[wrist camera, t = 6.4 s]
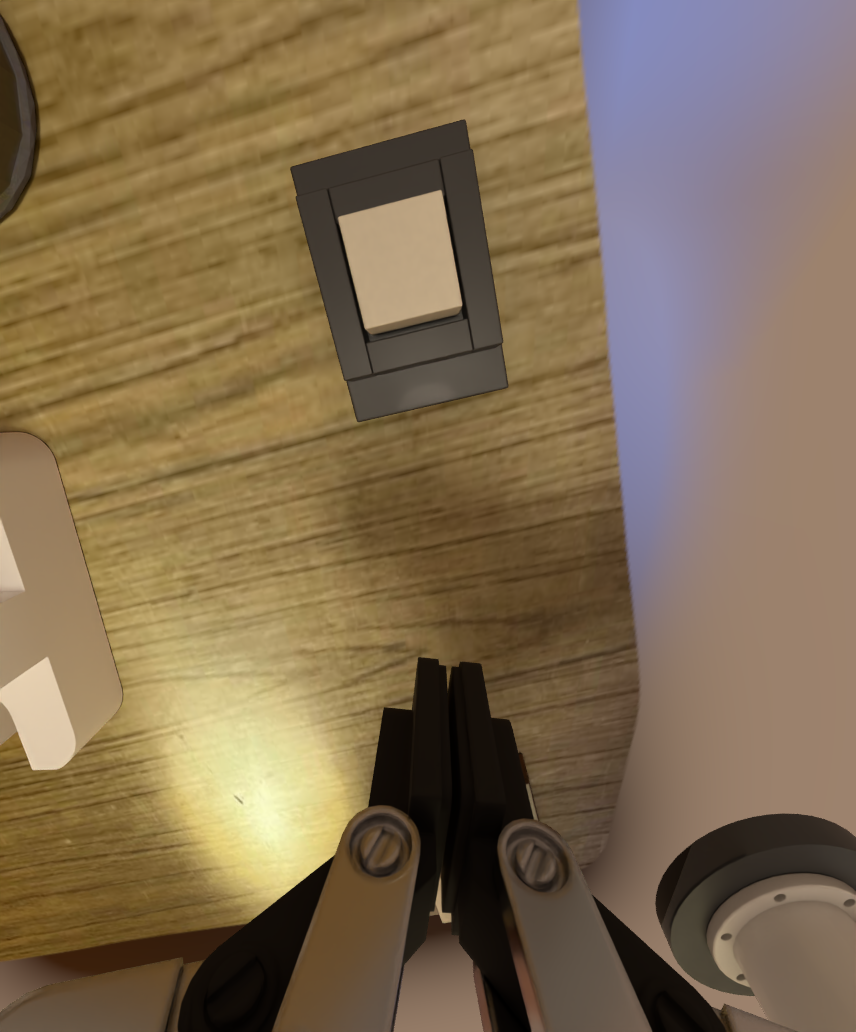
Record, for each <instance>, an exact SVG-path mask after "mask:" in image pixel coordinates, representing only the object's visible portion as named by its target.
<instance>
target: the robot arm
mask: <svg viewBox="0 0 856 1032" xmlns="http://www.w3.org/2000/svg"><path fill="white" fill-rule="evenodd" d="M440 874H441V907H442V913H451V926H452V935H459V943H460V945H461V946H462V947H463V949H464V950H465V951H466V952H467V954H468V955H469V956H470V958H471V959H472V960H473V973H474V982H475V987H476V993H477V997H478V1004H479V1009H480V1015H481V1020H482V1026H483V1031H484V1032H856V891H855V890H854V889H853V888H851V887H850V886H849V885H847V884H846V883H844V882H842V881H840V880H838V879H835V878H833V877H830V876H825V875H821V874H815V873H788V874H782V875H777V876H772V877H769V878H766V879H763V880H760V881H757V882H754V883H752V884H750V885H748V886H746V887H744V888H742V889H741V890H739V891H737V892H736V893H734V894H733V895H731V896H730V897H729V898H728V899H727V900H726V901H724V902H723V903H722V904H721V905H720V907H719V908H718V909H717V910H716V912H715V913H714V914H713V916H712V918H711V920H710V922H709V925H708V930H707V934H706V936H707V945H708V948H709V950H710V953H711V955H712V957H713V959H714V960H715V962H716V964H717V966H718V967H719V969H720V970H721V971H722V972H723V973H724V974H725V975H726V976H727V977H729V978H730V979H732V980H733V981H735V982H737V983H739V984H742V985H745V986H747V987H750V988H751V989H752V991H753V993H754V995H755V997H756V999H757V1001H758V1002H759V1004H760V1006H761V1008H762V1010H763V1012H764V1014H765V1015H766V1017H767V1019H768V1020H766V1019H763V1018H761V1017H758V1016H755V1015H753V1014H750V1013H748V1012H745V1011H742V1010H739V1009H737V1008H734V1007H731V1006H729V1005H726V1004H724V1006H723V1008H722V1010H718V1009H716V1008H713V1007H711V1006H710V1005H709V1003H707V1001H706V1000H704V998H703V997H702V996H701V995H700V994H699V993H698V992H697V991H696V989H695V988H694V987H693V986H691V985H690V984H689V983H688V982H687V981H686V980H685V979H684V978H683V977H682V976H680V975H679V974H678V973H677V972H676V971H675V970H674V969H673V968H672V967H671V966H670V965H668V964H667V963H666V962H665V961H664V960H663V959H662V958H661V957H660V956H659V955H657V954H656V953H655V952H654V951H653V950H652V949H651V948H650V947H649V946H648V945H647V944H646V943H644V942H643V941H642V940H641V939H640V938H639V937H638V936H637V935H636V934H635V933H633V932H632V931H631V930H630V929H629V928H628V927H627V926H626V925H625V924H624V923H623V922H621V921H620V920H619V919H618V918H617V917H616V916H615V915H614V914H613V913H612V912H611V911H609V910H608V909H607V908H606V907H605V906H604V905H603V904H602V903H601V902H600V901H598V900H597V899H596V898H595V897H594V896H593V895H592V894H591V892H590V890H589V887H588V885H587V883H586V881H585V878H584V876H583V874H582V872H581V869H580V867H579V865H578V863H577V860H576V858H575V856H574V854H573V852H572V850H571V849H570V847H569V845H568V844H567V842H566V841H565V840H564V839H563V838H562V837H561V835H560V834H559V833H558V832H557V831H555V830H554V829H552V828H551V827H549V826H548V825H547V824H545V823H542V822H539V821H537V820H534V817H533V813H532V808H531V804H530V800H529V796H528V792H527V788H526V783H525V779H524V775H523V771H522V767H521V762H520V758H519V754H518V750H517V746H516V742H515V737H514V733H513V729H512V726H511V722H510V721H509V720H507V719H497V718H491V715H490V710H489V704H488V698H487V693H486V687H485V682H484V676H483V671H482V666H481V664H480V663H470V662H460V664H459V667H453V666H452V668H451V674H450V681H449V688H448V693H447V673H446V666H444V665H439V660H438V659H431V658H421V657H418V663H417V671H416V680H415V688H414V696H413V705H412V710H405V709H395V708H385V707H384V710H383V716H382V722H381V729H380V735H379V742H378V748H377V754H376V761H375V767H374V774H373V780H372V786H371V793H370V799H369V806H368V808H366V809H364V810H362V811H361V812H359V813H357V814H356V815H355V816H354V817H353V818H352V819H351V820H350V821H349V823H348V824H347V826H346V828H345V830H344V832H343V834H342V837H341V840H340V843H339V845H338V848H337V851H336V854H335V855H334V856H333V857H332V858H330V859H329V860H328V861H327V862H325V863H324V864H323V865H322V866H320V867H319V868H318V869H316V870H315V871H314V872H313V873H311V874H310V875H309V876H308V877H306V878H305V879H304V880H303V881H301V882H300V883H299V884H297V885H296V886H295V887H294V888H292V889H291V890H290V891H289V892H287V893H286V894H285V895H284V896H282V897H281V898H280V899H278V900H277V901H276V902H275V903H273V904H272V905H271V906H270V907H268V908H267V909H266V910H265V911H263V912H262V913H261V914H259V915H258V916H257V917H256V918H254V919H253V920H252V921H251V922H249V923H248V924H247V925H246V926H244V927H243V928H242V929H241V930H239V931H238V932H237V933H235V934H234V935H233V936H232V937H230V938H229V939H228V940H227V941H226V942H224V943H223V944H222V945H220V946H219V947H218V948H217V949H216V950H215V951H214V952H213V953H212V954H211V955H210V956H209V957H208V958H207V959H206V960H204V961H199V962H194V963H189V964H184V965H183V958H178V959H173V960H168V961H163V962H158V963H154V964H149V965H143V966H138V967H134V968H129V969H124V970H119V971H114V972H109V973H104V974H99V975H95V976H90V977H85V978H80V979H75V980H70V981H65V982H60V983H55V984H51V985H46V986H44V987H41V988H39V989H36V990H34V991H31V992H28V993H26V994H24V995H23V996H21V997H20V998H19V999H17V1000H16V1001H14V1002H13V1003H12V1004H10V1005H9V1006H7V1007H6V1008H4V1009H3V1010H2V1011H1V1012H0V1032H394V1026H395V1020H396V1014H397V1007H398V1001H399V995H400V989H401V983H402V977H403V971H404V964H405V963H406V962H407V961H408V960H409V959H410V958H411V956H412V955H413V954H414V953H415V952H416V951H417V949H418V948H419V947H420V946H421V945H422V944H423V943H424V941H425V940H426V934H427V928H428V921H429V915H430V912H434V910H435V904H436V898H437V892H438V886H439V880H440Z"/></svg>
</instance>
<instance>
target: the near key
mask: <svg viewBox="0 0 856 1032" xmlns="http://www.w3.org/2000/svg"><path fill="white" fill-rule="evenodd" d="M338 221H339V226H340V230H341V234H342V238H343V242H344V246H345V250H346V254H347V258H348V262H349V266H350V270H351V275H352V279H353V283H354V287H355V291H356V295H357V299H358V303H359V307H360V311H361V315H362V319H363V324H364V328H365V329H366V330H367V331H368V332H369V333H370V334H371V335H376V334H380V333H384V332H388V331H392V330H397V329H401V328H405V327H409V326H413V325H417V324H421V323H425V322H429V321H434V320H438V319H442V318H446V317H450V316H454V315H458V314H459V313H460V310H461V307H462V299H461V293H460V288H459V282H458V277H457V271H456V266H455V260H454V255H453V249H452V244H451V238H450V233H449V227H448V222H447V216H446V210H445V205H444V199H443V194H442V191H441V190H438V191H434V192H430V193H427V194H423V195H419V196H415V197H411V198H408V199H404V200H400V201H396V202H393V203H389V204H385V205H381V206H377V207H374V208H370V209H366V210H362V211H358V212H355V213H351V214H347V215H343V216H340V217H338Z"/></svg>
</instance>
